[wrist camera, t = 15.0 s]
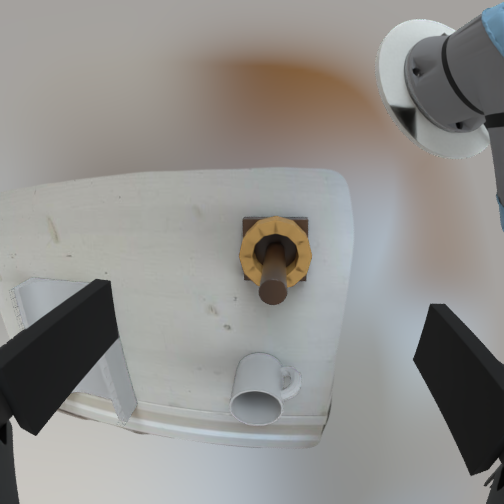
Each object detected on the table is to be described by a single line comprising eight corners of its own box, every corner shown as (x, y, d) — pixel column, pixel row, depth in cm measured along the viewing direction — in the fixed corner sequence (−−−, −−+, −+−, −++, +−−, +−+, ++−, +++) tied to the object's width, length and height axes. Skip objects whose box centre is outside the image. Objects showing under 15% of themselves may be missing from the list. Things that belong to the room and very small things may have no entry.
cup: (230, 357, 45) (220, 395, 36) (293, 341, 43) (295, 379, 35) (246, 390, 47) (240, 429, 38) (306, 376, 45) (309, 416, 36)
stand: (307, 217, 38) (322, 247, 24) (305, 277, 40) (316, 333, 26) (244, 217, 39) (223, 246, 25) (245, 276, 41) (228, 331, 27)
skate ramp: (137, 403, 50) (117, 439, 41) (51, 380, 52) (27, 406, 43) (109, 284, 44) (73, 312, 34) (18, 275, 45) (-17, 295, 36)
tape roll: (322, 249, 38) (325, 256, 35) (275, 292, 40) (275, 302, 37) (275, 203, 37) (275, 206, 34) (229, 249, 39) (225, 256, 36)
